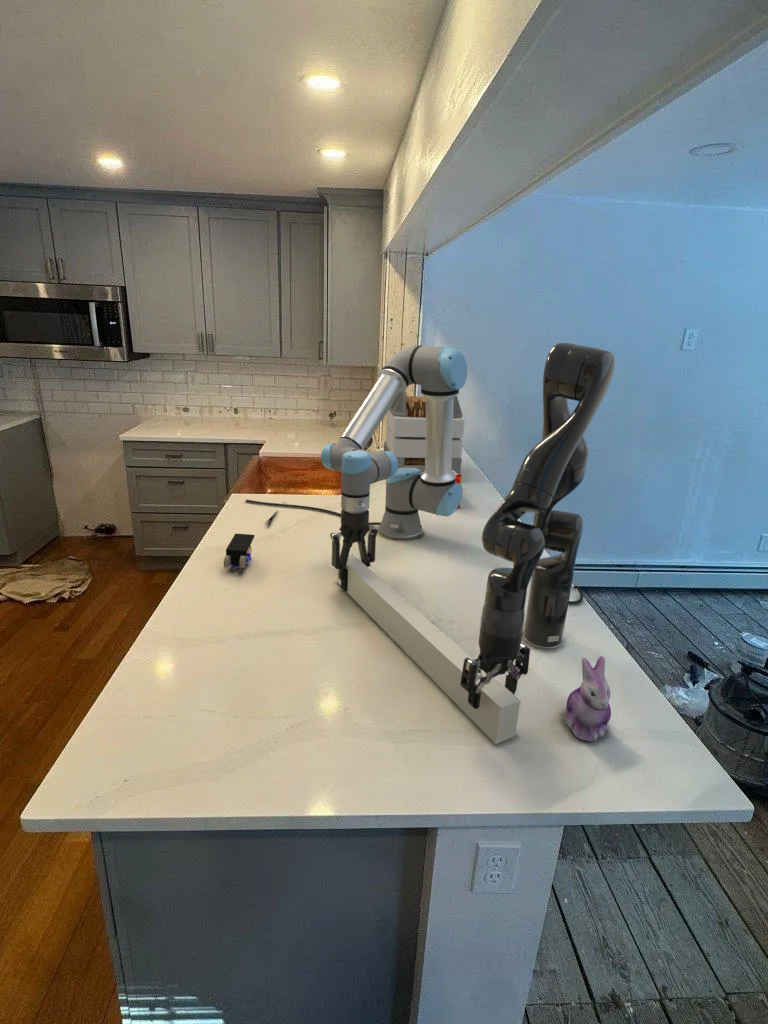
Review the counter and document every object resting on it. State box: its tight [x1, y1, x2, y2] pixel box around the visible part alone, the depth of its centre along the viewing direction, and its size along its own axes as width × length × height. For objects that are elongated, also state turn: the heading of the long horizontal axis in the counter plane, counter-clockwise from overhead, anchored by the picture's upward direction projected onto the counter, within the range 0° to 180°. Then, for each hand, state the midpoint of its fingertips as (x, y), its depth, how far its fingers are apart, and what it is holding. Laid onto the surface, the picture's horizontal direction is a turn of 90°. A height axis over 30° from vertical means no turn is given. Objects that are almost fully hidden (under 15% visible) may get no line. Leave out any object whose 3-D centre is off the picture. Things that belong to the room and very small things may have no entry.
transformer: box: [383, 389, 465, 475], centre depth 268 cm, size 34×33×41 cm
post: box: [337, 553, 521, 745], centre depth 133 cm, size 71×5×8 cm, turn 29°
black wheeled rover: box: [223, 533, 255, 573], centre depth 170 cm, size 7×8×15 cm
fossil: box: [363, 436, 374, 451], centre depth 302 cm, size 22×10×15 cm
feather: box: [265, 511, 278, 527], centre depth 212 cm, size 2×28×2 cm
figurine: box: [564, 655, 612, 742], centre depth 107 cm, size 9×10×15 cm
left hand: (352, 587), depth 159 cm, fingers closed on post, 5 cm apart
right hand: (491, 700), depth 108 cm, fingers open, 8 cm apart
